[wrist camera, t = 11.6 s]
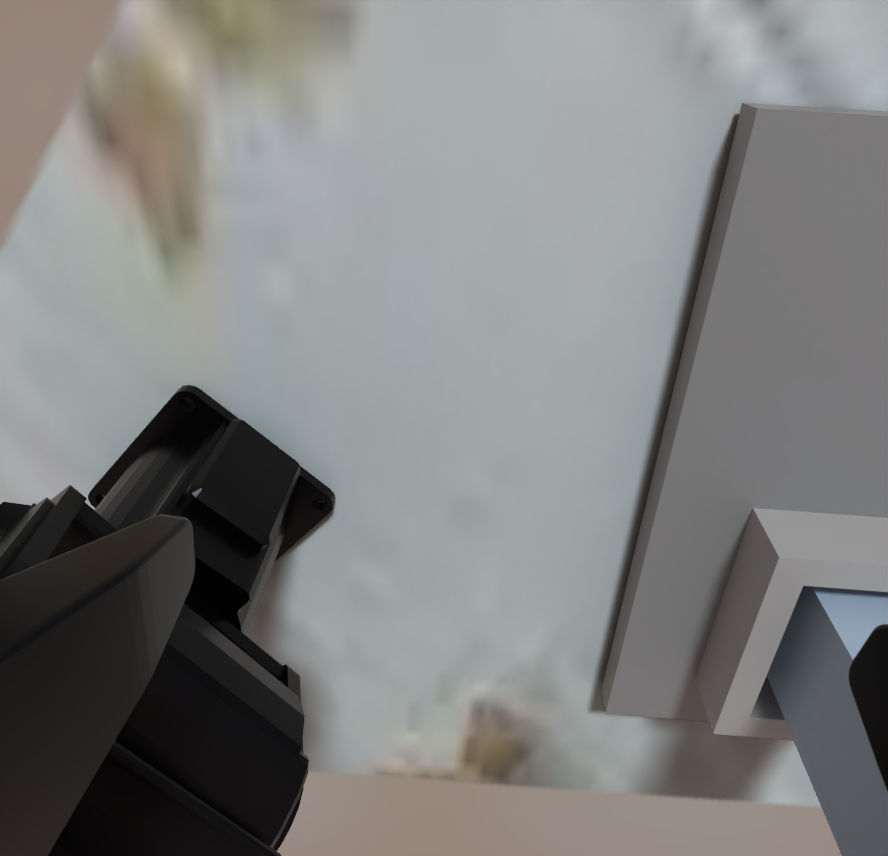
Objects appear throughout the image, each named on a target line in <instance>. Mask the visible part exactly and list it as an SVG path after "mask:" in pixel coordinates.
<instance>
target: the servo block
mask: <svg viewBox="0 0 888 856" xmlns="http://www.w3.org/2000/svg"><path fill="white" fill-rule="evenodd" d="M882 624H888V592H879V591H866V590H853V589H840V588H827V587H814V586H803V588H802V590H801V593H800V595H799V598H798V600H797V603H796V605H795V607H794V610H793V612H792V615H791V617H790V620H789V622H788V625H787V627H786V629H785V632H784V634H783V637H782V639H781V642H780V644H779V647H778V649H777V651H776V654H775V656H774V659H773V661H772V664H771V666H770V669H769V671H768V673H767V678H768V680H769V683H770V685H771V687H772V690H773V692H774V695H775V697H776V699H777V702H778V704H779V707H780V709H781V711H782V714H783V716H784V718H785V721H786V723H787V726H788V728H789V730H790V733H791V735H792V738H793V740H794V742H795V745H796V747H797V749H798V752H799V754H800V757H801V759H802V761H803V764H804V766H805V769H806V771H807V773H808V776H809V778H810V781H811V783H812V785H813V788H814V790H815V792H816V795H817V797H818V800H819V802H820V804H821V807H822V809H823V812H824V814H825V816H826V819H827V821H828V823H829V826H830V828H831V831H832V833H833V835H834V838H835V840H836V843H837V845H838V847H839V850H840V852H841V854H842V856H888V792H887V789H886V787H885V784H884V782H883V779H882V777H881V774H880V771H879V769H878V766H877V763H876V760H875V757H874V754H873V752H872V749H871V746H870V743H869V740H868V737H867V734H866V732H865V729H864V726H863V723H862V720H861V717H860V714H859V712H858V709H857V706H856V703H855V700H854V697H853V695H852V692H851V689H850V685H849V678H848V675H849V668H850V665H851V663H852V661H853V659H854V658H855V656H856V655H857V653H858V652H859V650H860V649H861V647H862V646H863V644H864V643H865V641H866V640H867V638H868V637H869V635H870V634H871V633H872V631H873V630H874V629H875V628H876V627H877V626H879V625H882Z"/></svg>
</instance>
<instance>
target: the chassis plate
mask: <svg viewBox="0 0 888 856" xmlns="http://www.w3.org/2000/svg"><path fill="white" fill-rule="evenodd" d="M803 586H814V587H827V588H840V589H853V590H866V591H879V592H888V112H884V111H868V110H851V109H834V108H818V107H801V106H784V105H768V104H751V103H742V106H741V110H740V114H739V118H738V122H737V127H736V131H735V135H734V139H733V143H732V147H731V152H730V156H729V160H728V164H727V168H726V172H725V177H724V181H723V185H722V189H721V193H720V197H719V202H718V206H717V210H716V214H715V218H714V222H713V227H712V231H711V235H710V239H709V243H708V247H707V252H706V256H705V260H704V264H703V268H702V272H701V277H700V281H699V285H698V289H697V293H696V297H695V302H694V306H693V310H692V314H691V318H690V322H689V327H688V331H687V335H686V339H685V343H684V347H683V352H682V356H681V360H680V364H679V368H678V372H677V377H676V381H675V385H674V389H673V393H672V397H671V402H670V406H669V410H668V414H667V418H666V422H665V427H664V431H663V435H662V439H661V443H660V447H659V452H658V456H657V460H656V464H655V468H654V472H653V477H652V481H651V485H650V489H649V493H648V497H647V502H646V506H645V510H644V514H643V518H642V522H641V527H640V531H639V535H638V539H637V543H636V547H635V552H634V556H633V560H632V564H631V568H630V572H629V577H628V581H627V585H626V589H625V593H624V597H623V602H622V606H621V610H620V614H619V618H618V622H617V627H616V631H615V635H614V639H613V643H612V647H611V652H610V656H609V660H608V664H607V668H606V672H605V677H604V681H603V685H602V694H603V700H604V706H605V712H606V714H617V715H629V716H642V717H654V718H666V719H679V720H691V721H703V722H709V723H710V726H711V729H712V732H713V734H721V735H733V736H745V737H758V738H770V739H782V740H793V738H792V735H791V733H790V730H789V728H788V726H787V723H786V721H785V718H784V716H783V714H782V711H781V709H780V707H779V704H778V702H777V699H776V697H775V695H774V692H773V690H772V687H771V685H770V683H769V680H768V678H767V673H768V671H769V669H770V666H771V664H772V661H773V659H774V656H775V654H776V651H777V649H778V647H779V644H780V642H781V639H782V637H783V634H784V632H785V629H786V627H787V625H788V622H789V620H790V617H791V615H792V612H793V610H794V607H795V605H796V603H797V600H798V598H799V595H800V593H801V590H802V588H803Z"/></svg>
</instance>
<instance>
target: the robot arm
mask: <svg viewBox="0 0 888 856" xmlns="http://www.w3.org/2000/svg"><path fill="white" fill-rule="evenodd" d="M184 398H189V399H191V400H192V401H193V402H194V403H195V406H193V405H189V404H187V403H186V401H185V400H184ZM101 494H102V495H105V497H103V496H102V495H101ZM88 498H89V501H90V503H91V505H92V506H94V507H95V510H93V509H92V508H91V507H90V506H88V505H87V504H86V503H85V500H86V498H85V497H84V496H83V495H82V494H80V493H79V492H78V491H77V490H76V489H74V488H73V487H72V486H71V485H70V486H68V487H67V488H66V489H64V490H63V491H62V492H60V493H59V494H58V495H57V496H55V497H54V498H53V499H52V500H49V499H48V498H45V499H44V500H42V501H41V502H40V503H38V504H37V505H36V504H35V503H34V504H32V505H31V506H30V505H23V504H15V503H8V502H3V503H2V504H0V856H281V855H280V853H278V852H277V850H278V848H279V847H280V845H281V843H282V842H283V840H284V838H285V836H286V835H287V832H288V831H289V829H290V827H291V825H292V823H293V820H294V818H295V815H296V813H297V810H298V808H299V804H300V800H301V796H302V792H303V785H304V782H305V780H306V777H307V774H308V762H309V760H308V758H307V756H306V755H304V754H303V739H302V738H303V727H304V713H303V710H302V707H301V697H300V677H299V675H298V674H297V673H296V672H295V671H293V670H292V669H291V668H290V667H289V666H287V665H283V666H282V665H280V664H279V663H278V662H277V661H276V660H274V659H273V658H272V657H271V656H270V655H268V654H267V653H266V652H265V651H264V650H262V649H261V648H260V647H259V646H258V645H256V644H255V643H254V642H253V641H251V640H250V639H249V638H248V637H247V636H245V634H246V632H247V629H248V627H249V624H250V621H251V619H252V616H253V614H254V611H255V609H256V606H257V604H258V601H259V599H260V596H261V594H262V591H263V589H264V586H265V584H266V581H267V579H268V576H269V574H270V571H271V569H272V566H273V564H274V562H275V561H276V560H277V559H278V558H279V557H280V556H281V555H283V554H284V553H285V552H286V551H287V550H288V549H289V548H290V547H292V546H293V545H294V544H295V543H296V542H297V541H298V540H299V539H301V538H302V537H303V536H304V535H305V534H306V533H307V532H308V531H310V530H311V529H312V528H313V527H314V526H315V525H316V524H318V523H319V522H320V521H321V520H322V519H323V518H324V517H325V516H327V515H328V514H329V513H330V512H331V510H332V509H333V506H334V503H335V495H334V493H333V492H332V491H331V490H330V489H329V488H328V487H327V486H325V485H324V484H323V483H321V482H320V481H319V480H318V479H316V478H315V477H314V476H312V475H311V474H310V473H308V472H307V471H306V470H305V469H303V468H302V467H301V466H299V463H298V462H296V461H295V460H294V459H293V458H291V457H290V456H289V455H287V454H286V453H285V452H283V451H282V450H281V449H280V448H278V447H277V446H276V445H274V444H273V443H272V442H270V441H269V440H268V439H267V438H265V437H264V436H263V435H261V434H260V433H259V432H257V431H256V430H255V429H254V428H252V427H251V426H250V425H248V424H247V423H246V422H244V421H243V420H239V419H238V418H237V417H236V416H234V415H233V414H232V413H230V412H229V411H228V410H226V409H225V408H224V407H223V406H221V405H220V404H219V403H217V402H216V401H215V400H213V399H212V398H211V397H210V396H208V395H207V394H206V393H204V392H203V391H202V390H200V389H199V388H197V387H195V386H191V385H187V386H183V387H181V388H180V389H179V390H178V391H177V392H176V393H175V394H174V395H173V397H172V398H171V399H170V400H169V401H168V402H167V403H166V405H165V406H164V407H163V408H162V409H161V410H160V412H159V413H158V414H157V415H156V416H155V417H154V418H153V420H152V421H151V422H150V423H149V424H148V425H147V426H146V428H145V429H144V430H143V431H142V432H141V433H140V435H139V436H138V437H137V438H136V439H135V440H134V441H133V443H132V444H131V445H130V446H129V447H128V448H127V450H126V451H125V452H124V453H123V454H122V455H121V456H120V458H119V459H118V460H117V461H116V462H115V463H114V465H113V466H112V467H111V468H110V469H109V470H108V471H107V473H106V474H105V475H104V476H103V477H102V478H101V480H100V481H99V482H98V483H97V484H96V485H95V486H94V488H93V489H92V490H91V491H90V493H89V495H88ZM316 498H321V499H323V500H324V501H325V503H319V502H317V501H316V500H315V499H316ZM848 678H849V685H850V689H851V692H852V695H853V697H854V700H855V703H856V706H857V709H858V712H859V714H860V717H861V720H862V723H863V726H864V729H865V732H866V734H867V737H868V740H869V743H870V746H871V749H872V752H873V754H874V757H875V760H876V763H877V766H878V769H879V771H880V774H881V777H882V779H883V782H884V784H885V787H886V789H887V792H888V624H882V625H879V626H877V627H876V628H875V629H874V630H873V631H872V633H871V634H870V635H869V637H868V638H867V640H866V641H865V643H864V644H863V646H862V647H861V649H860V650H859V652H858V653H857V655H856V656H855V658H854V659H853V661H852V663H851V665H850V668H849V675H848Z"/></svg>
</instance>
